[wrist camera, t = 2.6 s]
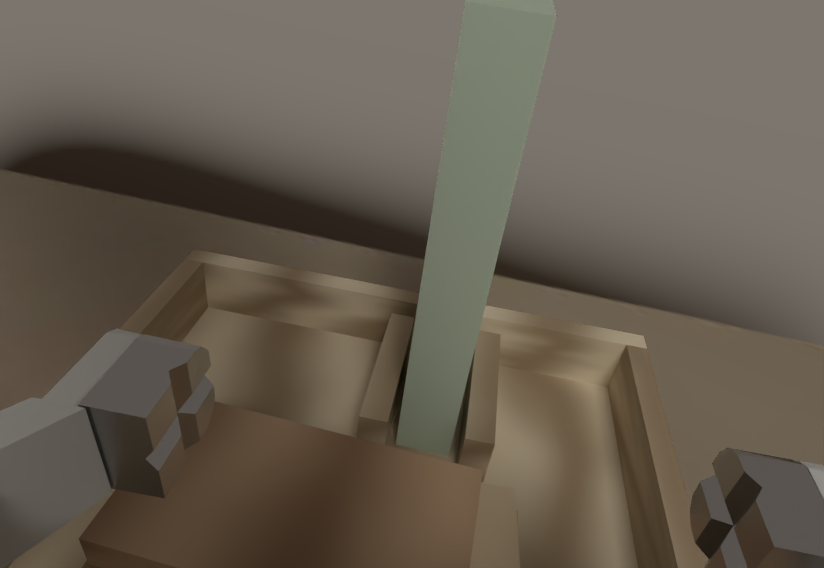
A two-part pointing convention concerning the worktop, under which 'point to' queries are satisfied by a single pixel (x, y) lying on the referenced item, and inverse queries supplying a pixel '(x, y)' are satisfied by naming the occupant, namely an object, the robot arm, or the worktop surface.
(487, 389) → the beige wooden tray
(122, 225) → the worktop surface
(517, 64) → the sage green plank
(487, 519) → the offcut stack
